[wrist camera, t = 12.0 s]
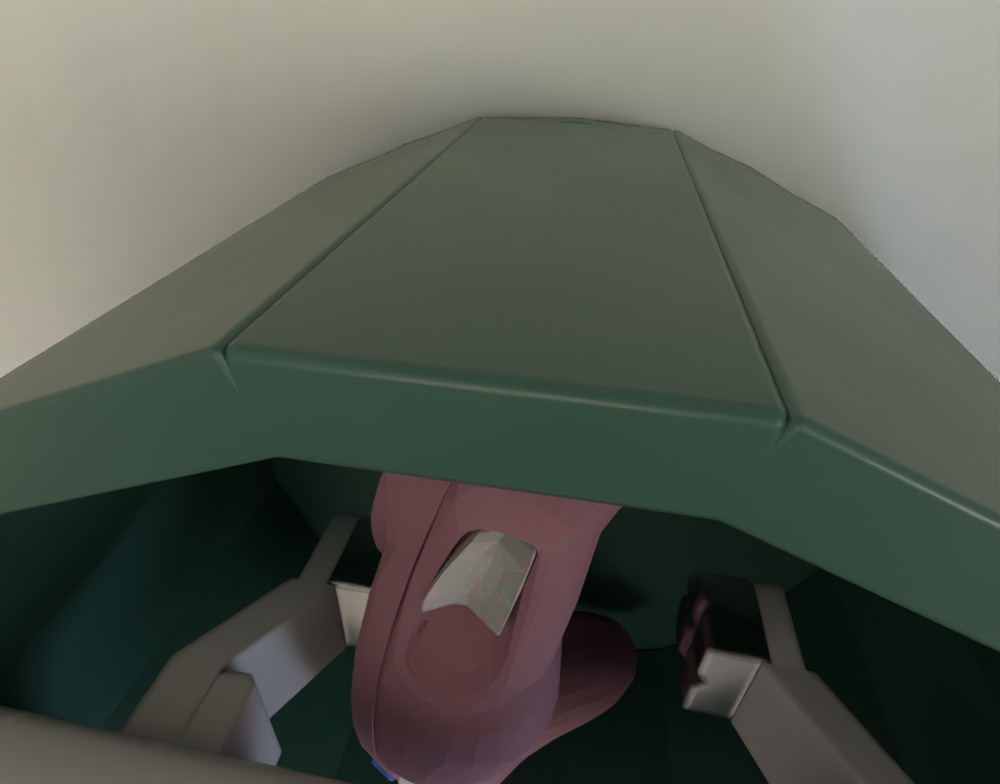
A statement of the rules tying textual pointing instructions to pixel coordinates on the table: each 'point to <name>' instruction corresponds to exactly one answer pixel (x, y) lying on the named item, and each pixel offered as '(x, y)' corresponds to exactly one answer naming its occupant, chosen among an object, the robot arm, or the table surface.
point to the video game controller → (480, 630)
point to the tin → (524, 440)
